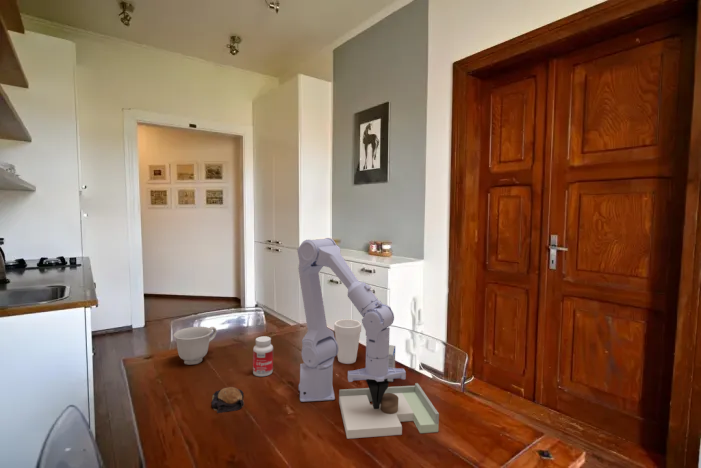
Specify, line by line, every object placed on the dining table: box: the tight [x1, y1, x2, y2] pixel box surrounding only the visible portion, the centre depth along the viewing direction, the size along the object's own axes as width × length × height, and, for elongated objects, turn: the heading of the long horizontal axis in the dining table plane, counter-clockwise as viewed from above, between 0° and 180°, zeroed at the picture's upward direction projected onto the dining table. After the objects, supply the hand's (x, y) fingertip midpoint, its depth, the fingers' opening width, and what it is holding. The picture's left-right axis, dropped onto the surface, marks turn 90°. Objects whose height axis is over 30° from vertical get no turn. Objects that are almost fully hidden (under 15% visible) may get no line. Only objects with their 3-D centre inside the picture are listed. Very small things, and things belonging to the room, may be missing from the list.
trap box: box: [338, 382, 440, 439], centre depth 91 cm, size 22×16×4 cm
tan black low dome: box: [211, 386, 245, 414], centre depth 96 cm, size 11×8×4 cm
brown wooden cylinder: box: [380, 393, 398, 414], centre depth 91 cm, size 4×4×3 cm
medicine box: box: [388, 344, 396, 383], centre depth 113 cm, size 8×4×9 cm, turn 168°
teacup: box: [173, 326, 217, 366], centre depth 121 cm, size 12×15×10 cm
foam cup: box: [333, 318, 362, 365], centre depth 124 cm, size 10×9×13 cm
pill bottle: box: [252, 335, 274, 377], centre depth 113 cm, size 6×6×11 cm
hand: (375, 406), depth 90 cm, fingers closed
